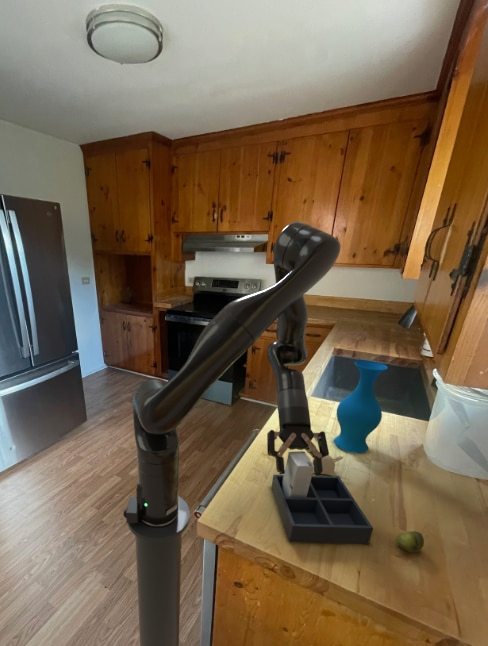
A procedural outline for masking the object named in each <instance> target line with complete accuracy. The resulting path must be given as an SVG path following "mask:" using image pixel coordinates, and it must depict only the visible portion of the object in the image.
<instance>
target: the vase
mask: <svg viewBox="0 0 488 646" xmlns="http://www.w3.org/2000/svg"><path fill="white" fill-rule="evenodd" d="M354 365H355V366H356V368H357V369H358V372H359V381H358V383H357V386H356V388H355V389H354V390H353V391H352V392H351V393H349V395H347V396H346V397H344V398H343V399H342V400H341V401H340V403H339V404H338V406H337V408H336V419H337V423H338V425H339V428H340V429H339V430H340V433H339V435H337V436H336V437H334V438H333V443H334V444H335V446H336V447H338V448H339V449H341V450H342V451H344V452H348V453H351V454H364V453H367V452H368V451H369V445H368V443H367V439H368V436H369V435H370V434H371V433H372V432H373V431H375V430H376V429H377V428H378V426H380V424H381V421H382V418H383V413H382V408H381V406H380V404H379V402H378V400H377V399H376V396H375V391H374V385H375V382H376V380H377V378H378V376H380V374H382V373H383V372H385V371H387V370H388V369H389V367H388V366H387V365H386V364H384V363H382V362H379V361H373V360H364V359H363V360H356V361H354Z"/></svg>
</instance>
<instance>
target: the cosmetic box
mask: <svg viewBox="0 0 488 646" xmlns="http://www.w3.org/2000/svg"><path fill="white" fill-rule="evenodd" d="M312 462H313V461H311V458H310V456H308V454H307V452H306V451H304V450H298V451H288V454H287V459H286V463H285V466H284V469H285V474H283V475H284V477H283V482H282V487H281V489H282V492H283V495H284V497H307V493H308V489H309V485H310V481H311V477H312V476H313V474H314V473H313V470H314V465H313V464H312Z"/></svg>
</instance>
